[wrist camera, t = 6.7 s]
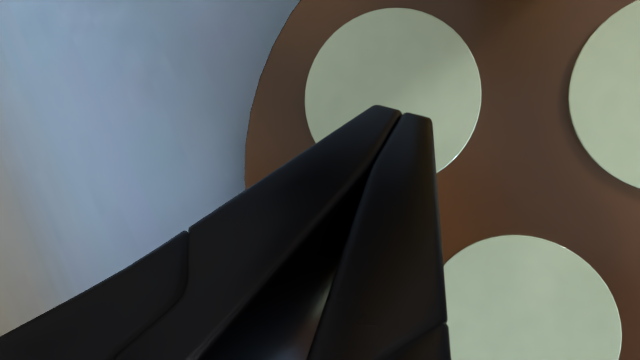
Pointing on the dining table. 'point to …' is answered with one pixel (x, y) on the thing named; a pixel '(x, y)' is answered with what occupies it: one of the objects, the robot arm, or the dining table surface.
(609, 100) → the joystick with buttons
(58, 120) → the dining table surface
